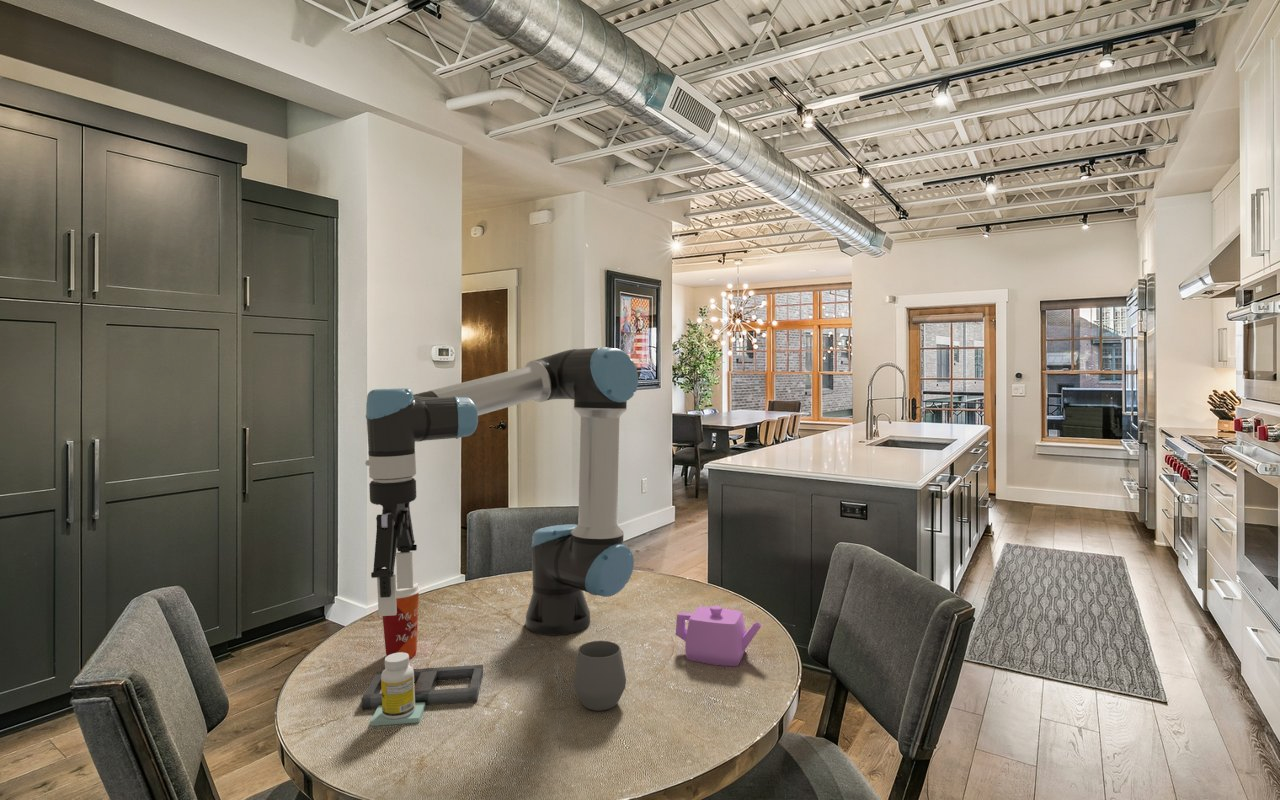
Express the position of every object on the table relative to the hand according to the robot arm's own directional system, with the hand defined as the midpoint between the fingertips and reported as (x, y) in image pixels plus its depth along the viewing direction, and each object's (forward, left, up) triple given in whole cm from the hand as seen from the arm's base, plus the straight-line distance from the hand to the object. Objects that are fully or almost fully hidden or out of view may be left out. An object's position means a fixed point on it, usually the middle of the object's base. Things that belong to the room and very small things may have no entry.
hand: (397, 600), depth 117 cm
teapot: (-61, -16, -21) cm, 66 cm away
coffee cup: (+5, -26, -21) cm, 34 cm away
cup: (-35, +1, -21) cm, 40 cm away
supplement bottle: (0, 0, -20) cm, 20 cm away
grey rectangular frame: (-3, -9, -20) cm, 22 cm away
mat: (0, 0, -20) cm, 20 cm away
